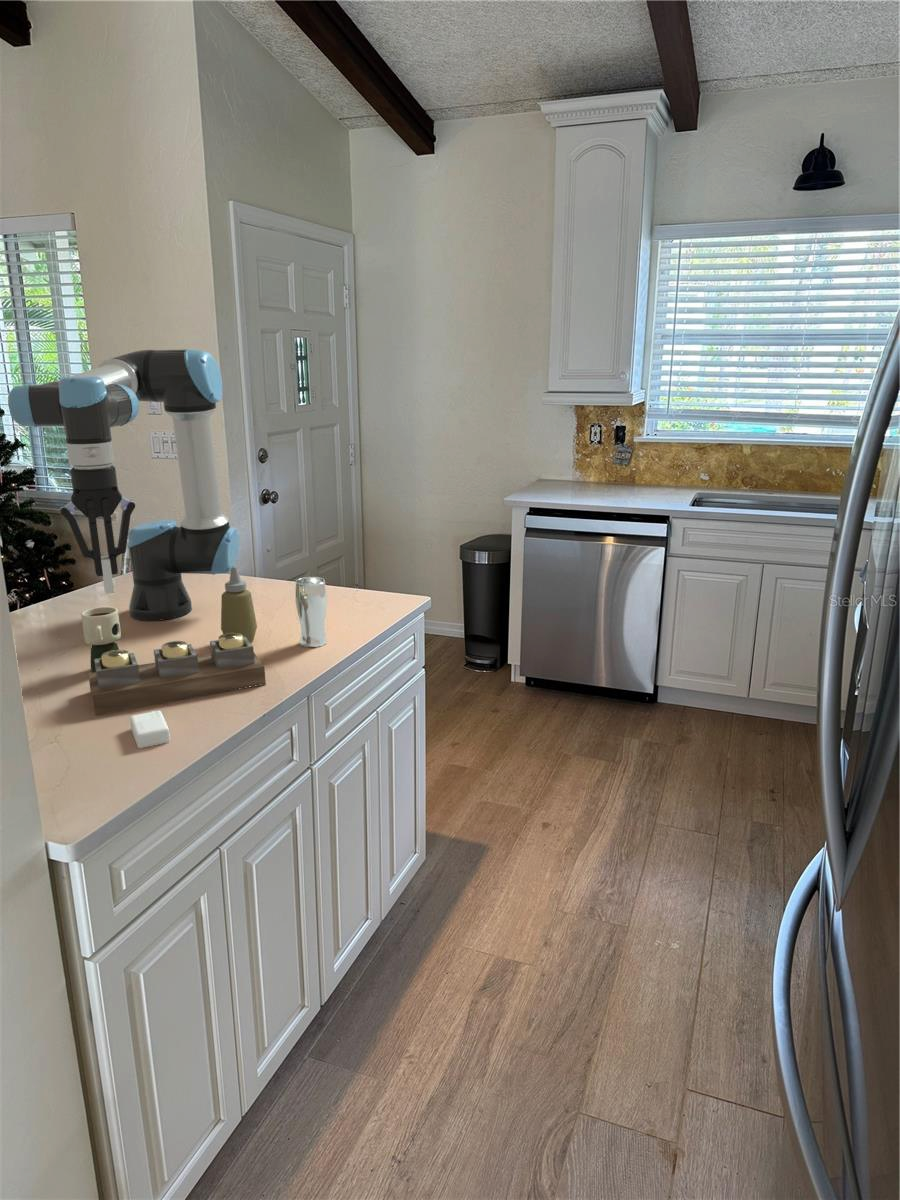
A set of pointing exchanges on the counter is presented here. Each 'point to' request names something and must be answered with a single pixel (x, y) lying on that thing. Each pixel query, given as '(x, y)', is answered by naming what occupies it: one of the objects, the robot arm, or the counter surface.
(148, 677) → the mount
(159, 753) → the counter surface
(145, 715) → the soap
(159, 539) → the robot arm
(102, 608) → the character mug
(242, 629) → the squeeze bottle
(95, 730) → the counter surface
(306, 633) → the beer glass
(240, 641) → the knob
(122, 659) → the knob
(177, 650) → the knob middle
